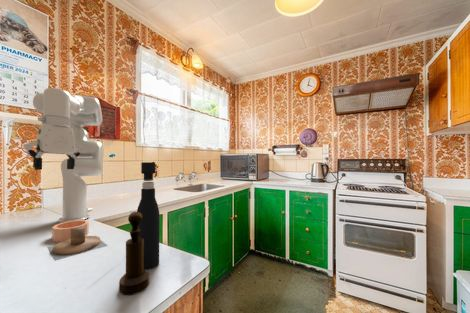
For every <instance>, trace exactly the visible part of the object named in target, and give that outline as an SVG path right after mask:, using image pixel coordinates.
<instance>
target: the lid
mask: <svg viewBox="0 0 470 313" xmlns="http://www.w3.org/2000/svg"><path fill="white" fill-rule="evenodd" d="M100 240H101V237H99V236H97V235H86V236H85V227H76V228H72V229H71V239H68V240H65V241H63V242H58V243H57V244H55V245H53V246H54V247H53V253H54V254H56V255H70V254H76V253H80V252H83V253H85V252H84V251H87V250H90V249H92V248H94V247H96V246H98V245H99V244H100ZM90 251H91V250H90ZM87 252H88V251H87ZM80 254H81V253H80ZM76 255H77V254H76Z"/></svg>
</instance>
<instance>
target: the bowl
mask: <svg viewBox="0 0 470 313" xmlns="http://www.w3.org/2000/svg"><path fill="white" fill-rule="evenodd" d="M76 227H85V236H89V235H88V234H89V232H90V222H89V220H87V219H86V220H76V221H69V222H64V223H60V222H59V223H58V224H57V223H56V224H54V226H52V227H51V240H52V241H53V242H58V243H60V242H63V241H65V240H68V239H71V229H72V228H76Z"/></svg>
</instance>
